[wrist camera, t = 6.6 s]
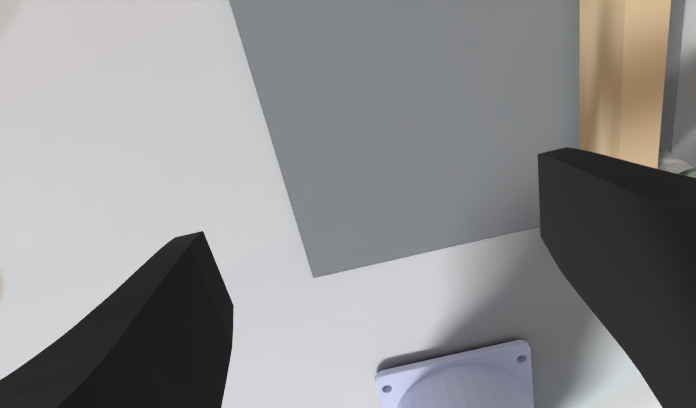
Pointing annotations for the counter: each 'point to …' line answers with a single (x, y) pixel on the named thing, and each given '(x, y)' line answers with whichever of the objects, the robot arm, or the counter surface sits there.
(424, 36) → the mat
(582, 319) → the counter surface
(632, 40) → the gate
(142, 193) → the counter surface
